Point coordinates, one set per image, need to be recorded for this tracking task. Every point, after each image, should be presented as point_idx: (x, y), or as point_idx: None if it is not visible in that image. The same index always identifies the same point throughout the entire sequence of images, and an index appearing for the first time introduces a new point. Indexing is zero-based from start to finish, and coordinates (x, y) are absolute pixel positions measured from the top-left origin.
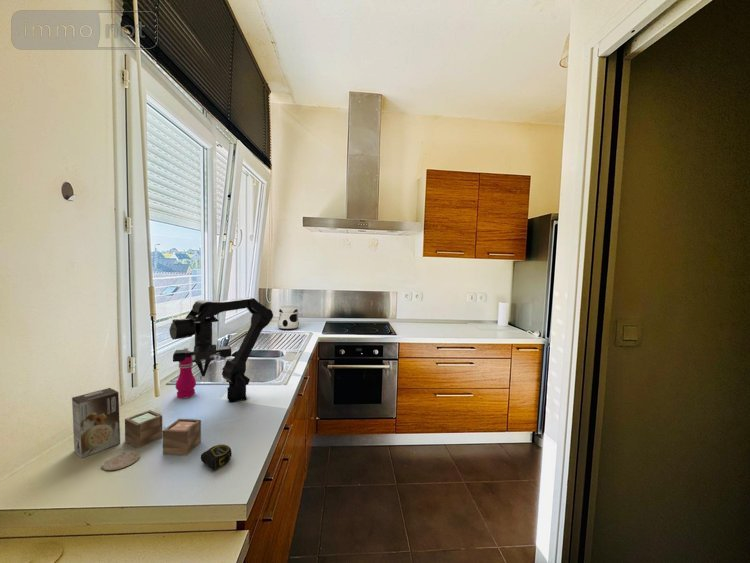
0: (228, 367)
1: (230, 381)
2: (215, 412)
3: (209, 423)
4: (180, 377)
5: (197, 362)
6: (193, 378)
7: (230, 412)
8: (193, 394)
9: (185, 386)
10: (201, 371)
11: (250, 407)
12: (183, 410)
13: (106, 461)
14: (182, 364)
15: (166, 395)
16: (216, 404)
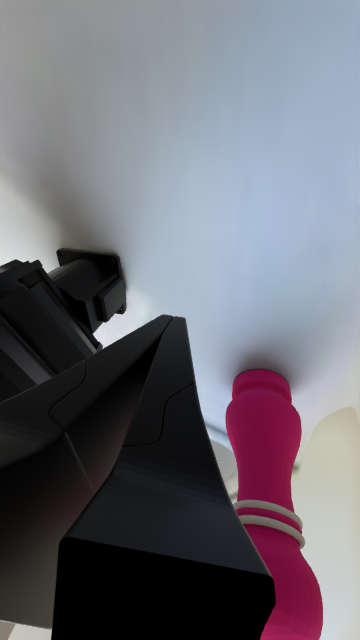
0: (9, 378)
1: (48, 290)
2: (167, 175)
3: (198, 6)
4: (289, 457)
5: (198, 555)
6: (234, 433)
7: (101, 139)
8: (237, 377)
9: (269, 405)
10: (176, 347)
11: (26, 159)
12: (295, 269)
13: None
14: (288, 536)
15: (317, 414)
16: (165, 263)
